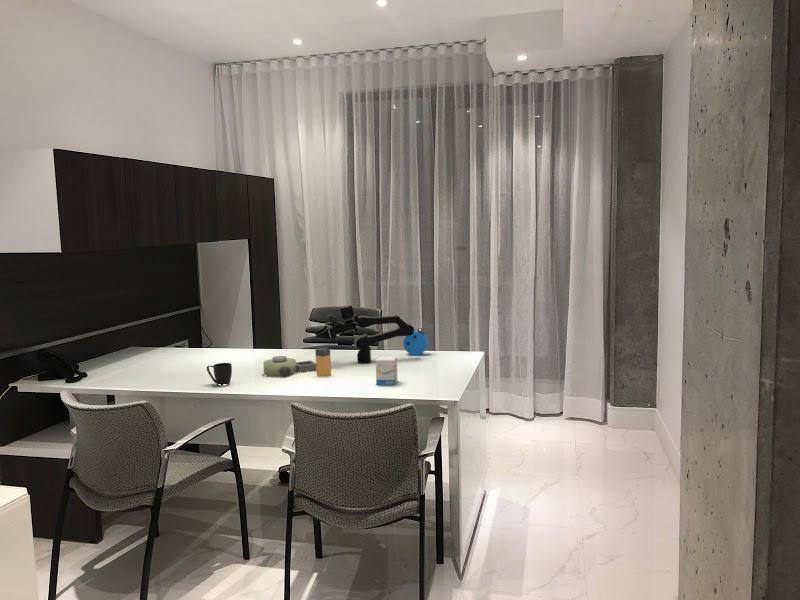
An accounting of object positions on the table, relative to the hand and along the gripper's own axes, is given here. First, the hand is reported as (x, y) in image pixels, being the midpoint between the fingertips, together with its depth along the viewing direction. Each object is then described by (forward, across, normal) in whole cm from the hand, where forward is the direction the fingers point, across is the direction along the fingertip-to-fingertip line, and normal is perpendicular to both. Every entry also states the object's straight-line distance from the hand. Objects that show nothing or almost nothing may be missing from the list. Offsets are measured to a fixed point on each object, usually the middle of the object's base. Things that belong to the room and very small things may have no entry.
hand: (315, 335), depth 339 cm
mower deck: (+17, +11, +13) cm, 24 cm away
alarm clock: (-51, -11, +28) cm, 59 cm away
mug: (+49, +28, +6) cm, 57 cm away
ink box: (-25, +49, +23) cm, 60 cm away
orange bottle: (+1, +24, +16) cm, 29 cm away
